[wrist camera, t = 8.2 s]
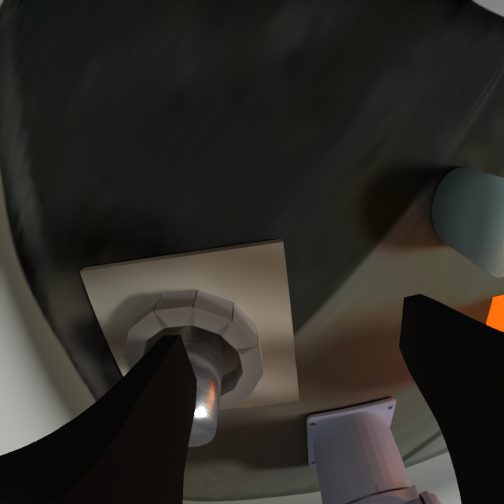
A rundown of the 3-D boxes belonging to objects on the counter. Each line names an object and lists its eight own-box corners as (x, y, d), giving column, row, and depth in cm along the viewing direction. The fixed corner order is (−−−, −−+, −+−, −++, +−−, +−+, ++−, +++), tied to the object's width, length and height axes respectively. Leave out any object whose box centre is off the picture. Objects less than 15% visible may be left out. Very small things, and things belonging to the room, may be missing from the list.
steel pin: (227, 366, 21) (220, 448, 14) (172, 366, 21) (149, 444, 14) (221, 319, 20) (210, 401, 13) (160, 320, 20) (127, 397, 13)
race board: (298, 395, 23) (302, 419, 20) (143, 406, 23) (135, 428, 21) (282, 238, 18) (287, 255, 16) (83, 267, 19) (65, 285, 16)
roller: (493, 222, 18) (539, 246, 13) (443, 260, 19) (486, 294, 14) (477, 154, 16) (529, 167, 12) (421, 190, 17) (471, 213, 12)
